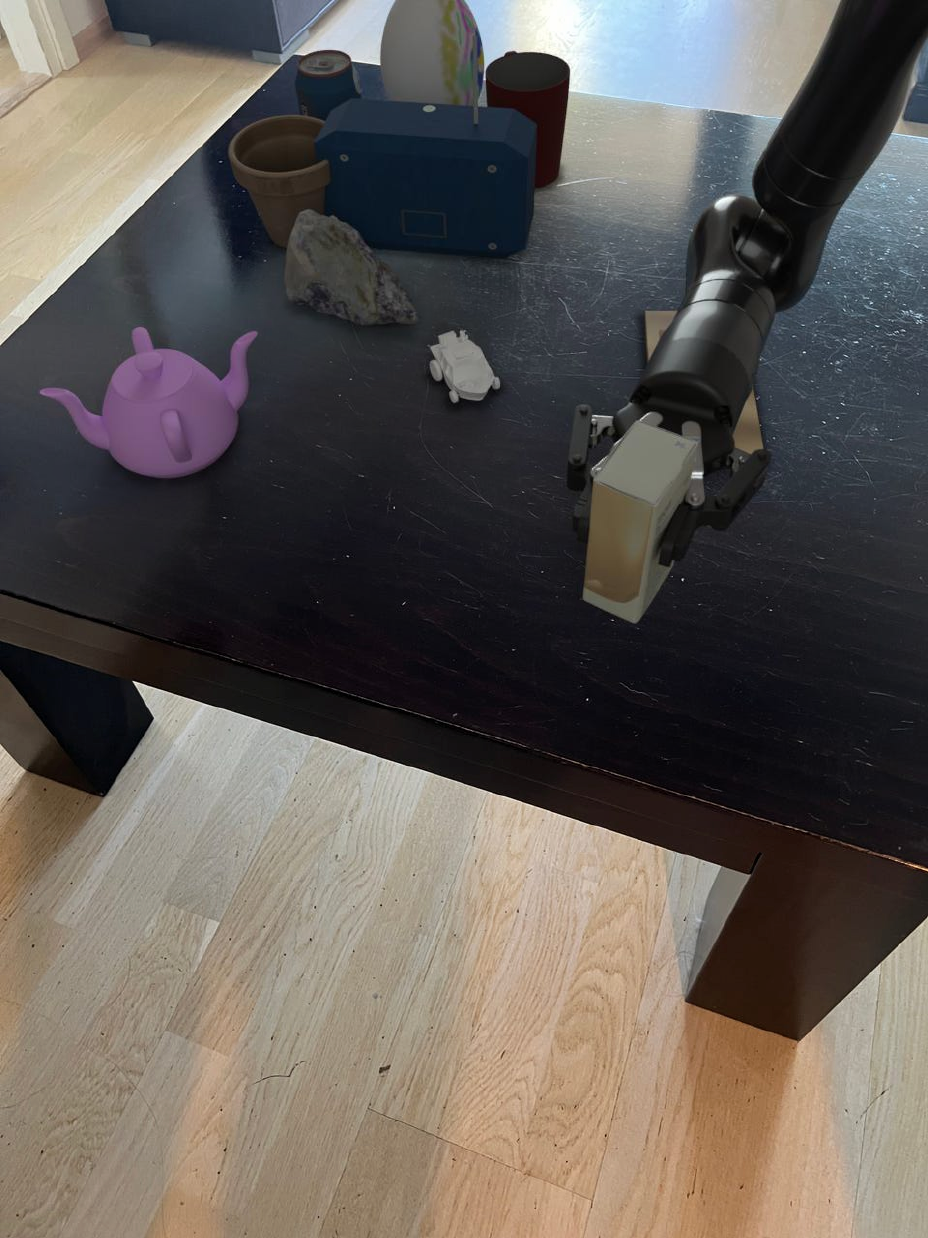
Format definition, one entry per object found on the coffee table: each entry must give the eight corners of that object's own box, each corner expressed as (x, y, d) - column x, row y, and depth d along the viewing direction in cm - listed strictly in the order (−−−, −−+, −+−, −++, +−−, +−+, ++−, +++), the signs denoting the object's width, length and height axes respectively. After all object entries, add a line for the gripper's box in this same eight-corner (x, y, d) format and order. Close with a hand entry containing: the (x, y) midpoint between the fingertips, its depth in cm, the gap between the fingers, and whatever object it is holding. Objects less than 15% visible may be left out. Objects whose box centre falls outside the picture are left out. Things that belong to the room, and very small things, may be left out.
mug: (471, 146, 114) (468, 46, 105) (544, 134, 115) (546, 34, 107) (499, 199, 107) (498, 96, 98) (575, 185, 108) (581, 82, 99)
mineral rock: (425, 338, 93) (417, 243, 85) (319, 369, 91) (300, 274, 83) (382, 267, 100) (370, 173, 92) (282, 293, 98) (261, 200, 90)
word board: (763, 465, 81) (766, 453, 80) (654, 463, 82) (656, 451, 81) (738, 318, 93) (741, 305, 92) (643, 317, 94) (645, 304, 93)
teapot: (76, 470, 84) (36, 389, 77) (172, 374, 91) (143, 293, 84) (188, 511, 81) (156, 430, 74) (278, 408, 88) (257, 326, 81)
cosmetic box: (620, 542, 71) (637, 414, 61) (675, 566, 69) (702, 437, 59) (578, 603, 67) (589, 477, 58) (634, 629, 66) (656, 504, 56)
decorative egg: (485, 138, 115) (481, -2, 103) (382, 141, 116) (367, 2, 104) (485, 89, 123) (482, -47, 111) (389, 92, 123) (375, -43, 111)
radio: (535, 218, 105) (542, 16, 89) (523, 266, 100) (529, 59, 84) (347, 204, 107) (321, 4, 91) (326, 249, 102) (295, 46, 86)
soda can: (377, 158, 114) (364, 48, 104) (360, 189, 110) (345, 79, 100) (321, 153, 115) (303, 44, 105) (302, 184, 111) (282, 74, 101)
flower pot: (338, 270, 101) (325, 176, 92) (233, 261, 102) (211, 168, 94) (364, 209, 107) (354, 117, 99) (265, 201, 109) (247, 110, 101)
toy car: (470, 351, 92) (469, 314, 88) (510, 401, 87) (510, 363, 84) (424, 367, 91) (421, 330, 87) (462, 418, 86) (460, 381, 83)
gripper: (606, 313, 69) (517, 474, 60) (810, 358, 65) (748, 537, 56) (599, 396, 75) (517, 553, 66) (786, 441, 71) (726, 615, 62)
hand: (624, 544), depth 61 cm, fingers closed on cosmetic box, 4 cm apart
